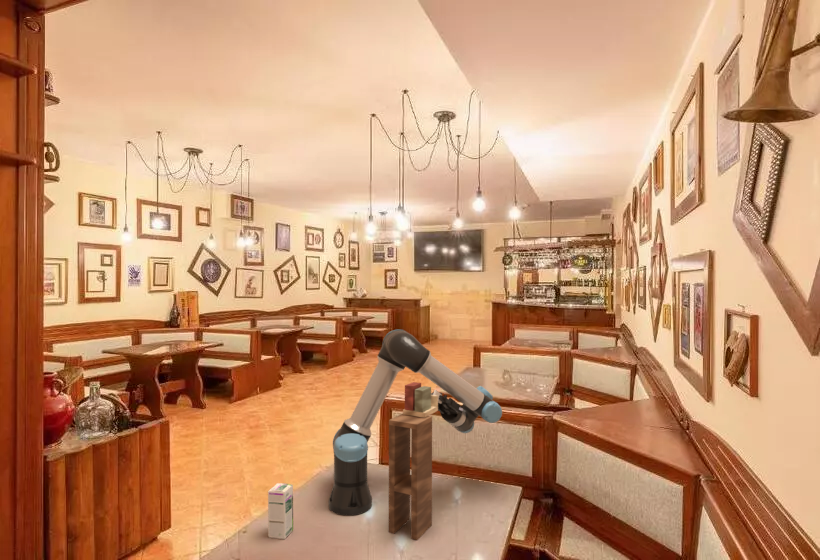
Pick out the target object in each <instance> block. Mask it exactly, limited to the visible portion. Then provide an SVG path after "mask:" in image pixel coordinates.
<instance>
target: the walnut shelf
mask: <svg viewBox="0 0 820 560" xmlns="http://www.w3.org/2000/svg"><path fill="white" fill-rule="evenodd" d="M409 521H410V529H411V530H410V539H411V540H413V541H418V540H419V539H420V538H421V537H422V536H423V535H424V534H425V533H426V532H427V531H428V530H429V529H430V528H431V527H432V526H433V416H432V415H429V416H427V417H425V418H424V417H417V416H410V415H404V414H403V413H400V414H398V415H397V416H395V417H392V418H390V419H389V420H388V533H389V534H393V535H394V534H396V533H397V532H398V531H399V530H400V529H401V528H402V527H403V526H405V525H406V524H407V523H408V522H409ZM405 523H406V524H405Z"/></svg>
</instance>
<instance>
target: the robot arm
mask: <svg viewBox="0 0 820 560" xmlns="http://www.w3.org/2000/svg"><path fill="white" fill-rule="evenodd" d="M376 357H377V360H378V362H377V364H376V367H375V368H374V370H373V372H372V374H371V375H370V376H371V377H370V378H369V381H368V382H367V384H366V386H365V388H364V390H363V392H362V394H361V396H360V398H359V400H358V401H357V404H356V406H355V408H354V409H353V411H352V413H351V416H350V418H347V419H345V420H344V421H343V423H342V424H341V426H340V428H339V429H338V430H337V431H336V433H335V434H334V436H333V438H332V439H333V440H332V449H333V487H332V488H331V493H330V495H329V498H328V509H329V511H330V512H332V513H334V514H336V515H338V516H339V515H340V516H356V515H360V514H363V513H366V512H368V511H369V510H370V509H371V508H372V507H373V496H372V494H371V490H370V487H369V484H368V451H369V446H368V442H369V440H370V438H371V436H372V431H371V427H372V425H373V423H374V421H375V420H376V417H377V415H378V413H379V411H380V409H381V407H382V405H383V403H384V401H385V399H386V398H387V395H388V393H389V391H390V389H391V387H392V385H393V384H394V382H395V380H396V378H397V376H398V374H399V372H402V371H404V370H405V368H407V369H408V370H410V371H412V372H413V373H414V374H418V373H419V374H420V375H422V376H423V377H425V378H427V380H429V381H430V382H431V383H433V384H435V385H436V386H437V387H439V388H440V389H441V390H443V391H445V392H446V393H447V394H449V395H450V396H451V397H453V398H454V399H453V398H451V397H448V395H447V394H442V395H441V394H440V393H441V392H440V393H439V391H438V390H437V389H434V390H433V392H434V393H433V392H432V393H433V395H436V396H438V402H439V403H438V411H437V412H440V416H441V418H442V419H443V420H444V421H445V422H447V423H448V424H450V425H451V427H452V428H454V429H455V430H457V431H458V432H460V433H462V434H468V433H471V432H472V431H473V430H474V427H475V421H476V420H477V419H478V417H481V419H482V420H484V421H485V422H487V423H491V424H493V423H494V424H495V423H497V422H498V421H500V419H501V417H502V416H503V409H502V407H501V405H500V404H499V403H498V402H496V401H495V400H493V399H494V397H493V395H492V393H490V391H488V389H486V388H485V387H483V386H482V385H479V386H477V387H476V386H474V385H472V384H471V383H470V382H468V381H467V380H465V379H464V378H463V377H461V376H460V375H459V374H457V373H456V372H454V370H452V369H450V368H449V367H448V366H447V365H445V364H444V363H442V362H441V361H439V360H438V359H437V358H435V357H434V356H433V355H432V353H431V350H429V349H428V348H426V346H424V345H423V344H422V343H421V342H420V341H419V340H418V339H417V338H416V337H415V336H414V335H413V334H411V333H410V332H408V331H406V330H404V329H394V330H391V331H388V333H386V335H385V336H384V338H383V340H382V345H381V348H380V350H379V352H378V354H377V356H376ZM455 399H456V400H457V401H458V402H456V401H455ZM459 403H461V404H462V405H460V404H459Z"/></svg>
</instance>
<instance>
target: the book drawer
mask: <svg viewBox="0 0 820 560" xmlns="http://www.w3.org/2000/svg"><path fill="white" fill-rule="evenodd" d="M438 392H439V391H438ZM433 393H434V391H433V392H432V386H428V385H427V386H425V385H423V386H422V382H415V381H414V382H413V381H412V382H410V383H407V384H405V385H404V409H402V414H404V415H410V416H417V417H424V418H425V417H427V416H432V415H433V414H434V413H436V412H439V411H438V403H439V402H438V396H436V395H433ZM439 393H440V394H441V395H442V396H443V392H439Z"/></svg>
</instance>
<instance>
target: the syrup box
mask: <svg viewBox="0 0 820 560" xmlns="http://www.w3.org/2000/svg"><path fill="white" fill-rule="evenodd" d="M267 514H268V515H267V517H268V518H267V525H268V526H267V529H268V531H267V536H268V538H270V539H271V538H272V539H278V540H286V539H287V537H288V536H289V535H290V534H291V533H292V532H293V531H294V484H292V483H291V484H290V483H286V482H285V483H282V482H280V483H279V482H277V483H275V485H274V486H272V487H271V488H270V489H269V490H268V491H267Z"/></svg>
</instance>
